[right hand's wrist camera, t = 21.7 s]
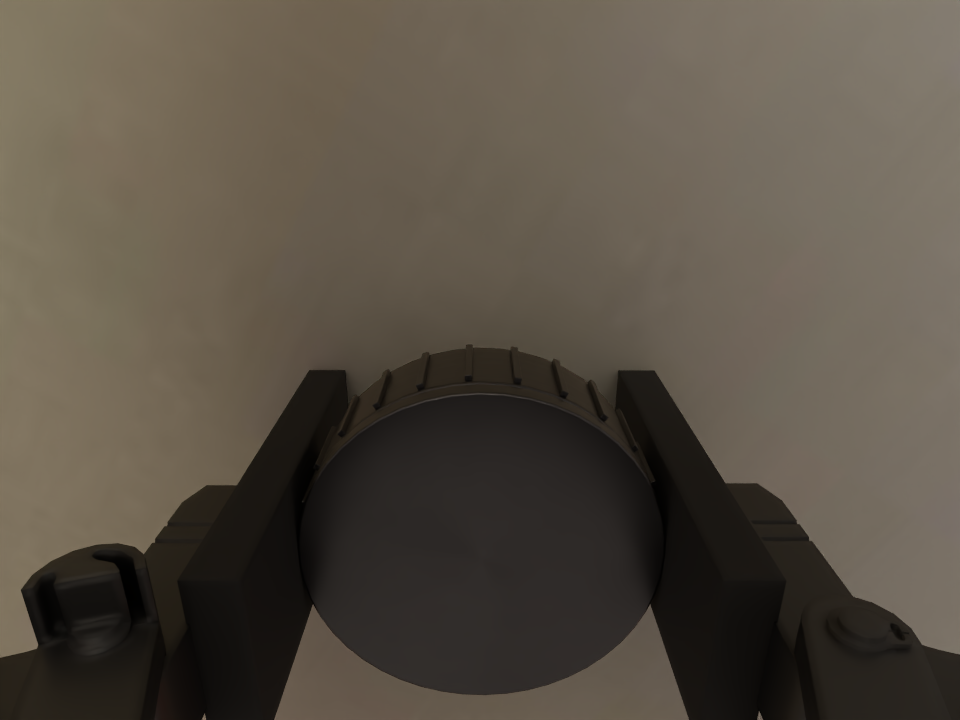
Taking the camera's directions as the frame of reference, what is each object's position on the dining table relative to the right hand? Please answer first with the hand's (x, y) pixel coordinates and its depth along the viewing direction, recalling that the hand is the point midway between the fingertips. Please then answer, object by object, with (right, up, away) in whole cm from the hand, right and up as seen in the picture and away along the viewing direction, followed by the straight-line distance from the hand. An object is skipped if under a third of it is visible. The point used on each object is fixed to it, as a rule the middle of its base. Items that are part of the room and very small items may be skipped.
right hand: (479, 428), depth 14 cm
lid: (0, -2, -4) cm, 4 cm away
